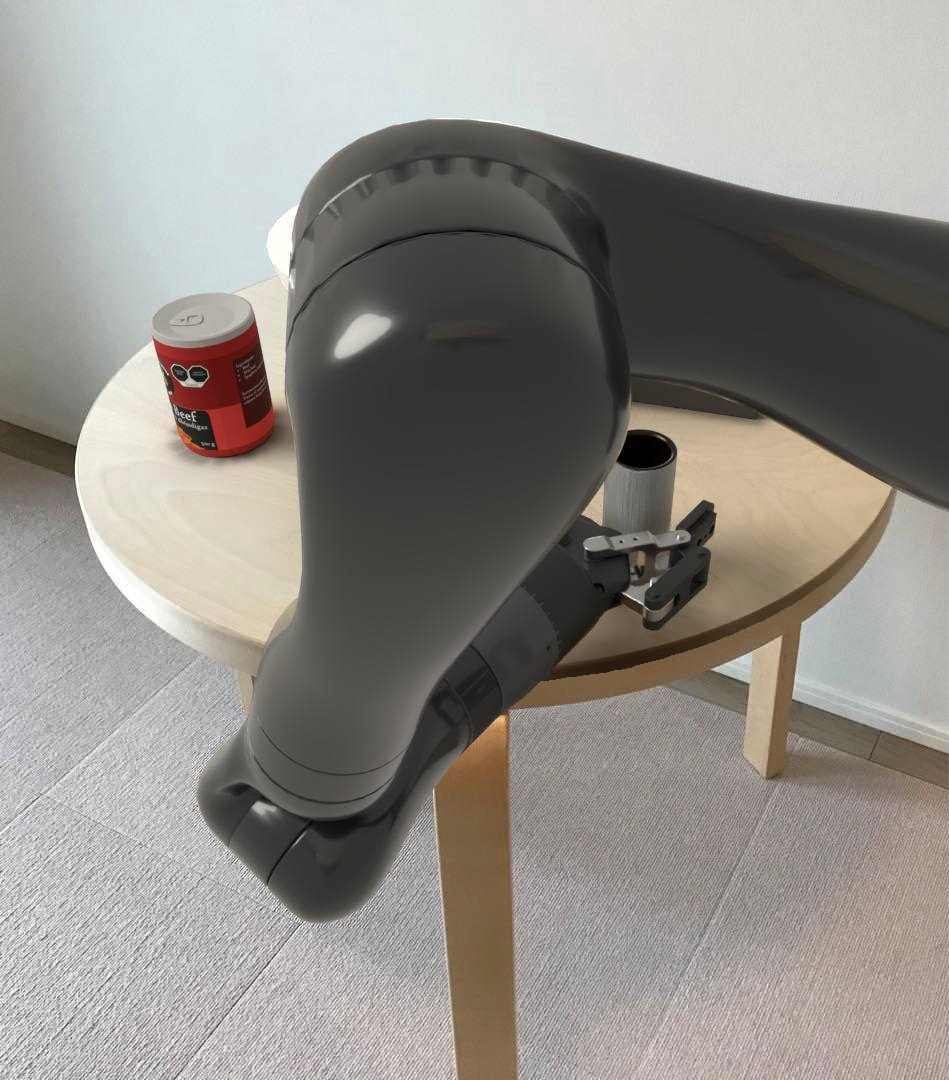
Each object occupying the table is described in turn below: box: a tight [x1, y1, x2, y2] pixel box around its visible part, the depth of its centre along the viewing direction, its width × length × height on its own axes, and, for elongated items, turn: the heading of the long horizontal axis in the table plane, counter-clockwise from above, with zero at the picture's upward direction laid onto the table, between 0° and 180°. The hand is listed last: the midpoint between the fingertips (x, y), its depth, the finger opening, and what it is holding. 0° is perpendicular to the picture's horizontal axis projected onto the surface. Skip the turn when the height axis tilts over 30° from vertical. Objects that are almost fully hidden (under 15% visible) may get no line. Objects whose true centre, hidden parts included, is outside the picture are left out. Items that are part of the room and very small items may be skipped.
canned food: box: [149, 292, 276, 458], centre depth 86 cm, size 8×8×11 cm
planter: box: [601, 428, 678, 586], centre depth 71 cm, size 4×4×10 cm
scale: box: [631, 378, 758, 420], centre depth 93 cm, size 13×13×3 cm
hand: (652, 487), depth 72 cm, fingers open, 8 cm apart
